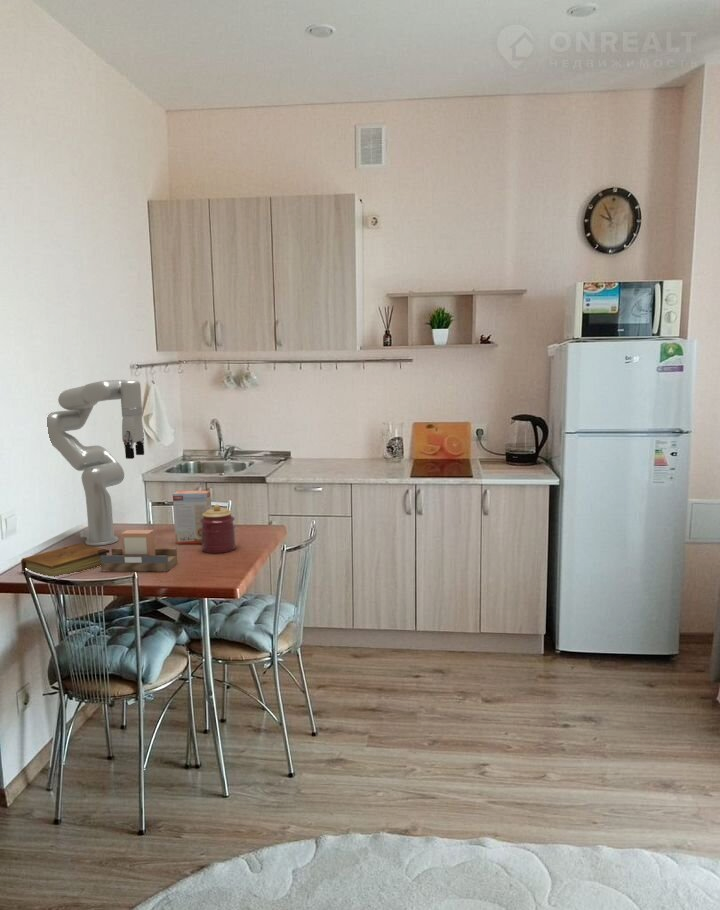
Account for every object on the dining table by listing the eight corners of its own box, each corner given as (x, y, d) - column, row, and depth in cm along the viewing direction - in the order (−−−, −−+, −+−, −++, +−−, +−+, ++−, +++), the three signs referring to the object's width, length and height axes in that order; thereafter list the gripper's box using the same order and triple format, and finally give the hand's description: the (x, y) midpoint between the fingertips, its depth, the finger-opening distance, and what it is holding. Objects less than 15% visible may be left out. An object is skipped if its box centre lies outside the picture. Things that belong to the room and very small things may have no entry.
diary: (79, 557, 275) (78, 543, 274) (110, 565, 264) (109, 549, 263) (22, 573, 256) (20, 557, 255) (53, 581, 245) (51, 565, 245)
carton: (128, 556, 261) (126, 529, 260) (155, 557, 260) (153, 529, 259) (122, 560, 256) (120, 533, 255) (150, 561, 255) (148, 533, 254)
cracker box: (213, 540, 293) (211, 489, 290) (209, 544, 287) (206, 492, 284) (180, 540, 295) (177, 490, 292) (175, 544, 289) (172, 492, 286)
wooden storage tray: (101, 571, 254) (99, 556, 253) (114, 562, 265) (112, 548, 264) (167, 571, 252) (166, 556, 251) (177, 563, 262) (176, 548, 262)
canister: (207, 544, 287) (204, 501, 284) (239, 544, 286) (237, 500, 283) (198, 553, 274) (195, 508, 271) (231, 553, 273) (229, 508, 271)
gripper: (131, 411, 286) (134, 453, 289) (113, 414, 269) (116, 460, 272) (150, 410, 285) (152, 453, 288) (132, 414, 268) (135, 459, 271)
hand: (135, 456), depth 280 cm, fingers open, 9 cm apart
